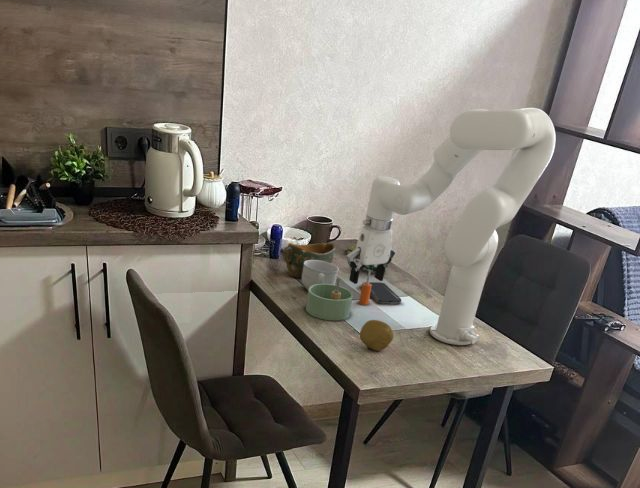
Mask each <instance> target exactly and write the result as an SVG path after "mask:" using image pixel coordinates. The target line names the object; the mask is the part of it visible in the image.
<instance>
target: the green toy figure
mask: <svg viewBox="0 0 640 488" xmlns="http://www.w3.org/2000/svg"><path fill="white" fill-rule="evenodd" d="M358 263H359V262H358ZM358 263H357V264H358ZM377 265H379V264H376V265H362V266H361V267H360V268H362V270H363V271H367V270H368V271H371V274H375V272H376V268H377ZM386 272H387V268H385V272H384V273H386Z"/></svg>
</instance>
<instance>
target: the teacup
mask: <svg viewBox="0 0 640 488" xmlns="http://www.w3.org/2000/svg"><path fill="white" fill-rule="evenodd" d="M339 270H340V268H339V267H338V266H337V265H336V264H334V263H332V262H331V263H328V262H325V261H320V260H307V261H305V262H304V267H303V272H302V278H301V283H302V285H303V287H304V288H305V289H306V290H307V291H308V289H309V287H310V286H312V285H315V284H333V285H336V283H337V279H338V274H339Z"/></svg>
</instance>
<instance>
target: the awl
mask: <svg viewBox="0 0 640 488" xmlns="http://www.w3.org/2000/svg"><path fill="white" fill-rule="evenodd" d="M340 280H341V278H338V277H337V279H336V285H337V286H336V290H335V291H332V295H331V299H332V300H340V296H341V292H339V290H338V287H339V286H340Z"/></svg>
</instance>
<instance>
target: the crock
mask: <svg viewBox="0 0 640 488" xmlns="http://www.w3.org/2000/svg"><path fill="white" fill-rule="evenodd" d="M336 286H337V284H335V285H333V284H315V285H312V286H310V287H309V289H308V290H307V296H306V304H305V311H306V312H307V313H308V314H309V315H310V316H312V317H314V318H317V319H320V320H325V321H335V322H337V321H343V320H347V319H348V318H349V317H350V314H351V310H352V305H353V298H354V293H353V292H352V291H351V290H350V289H348V288H346V287H344V286H341V285H339V287H338V290H339V292H341V296H340V300H332V299H331V295H332V291H335V290H336Z"/></svg>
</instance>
